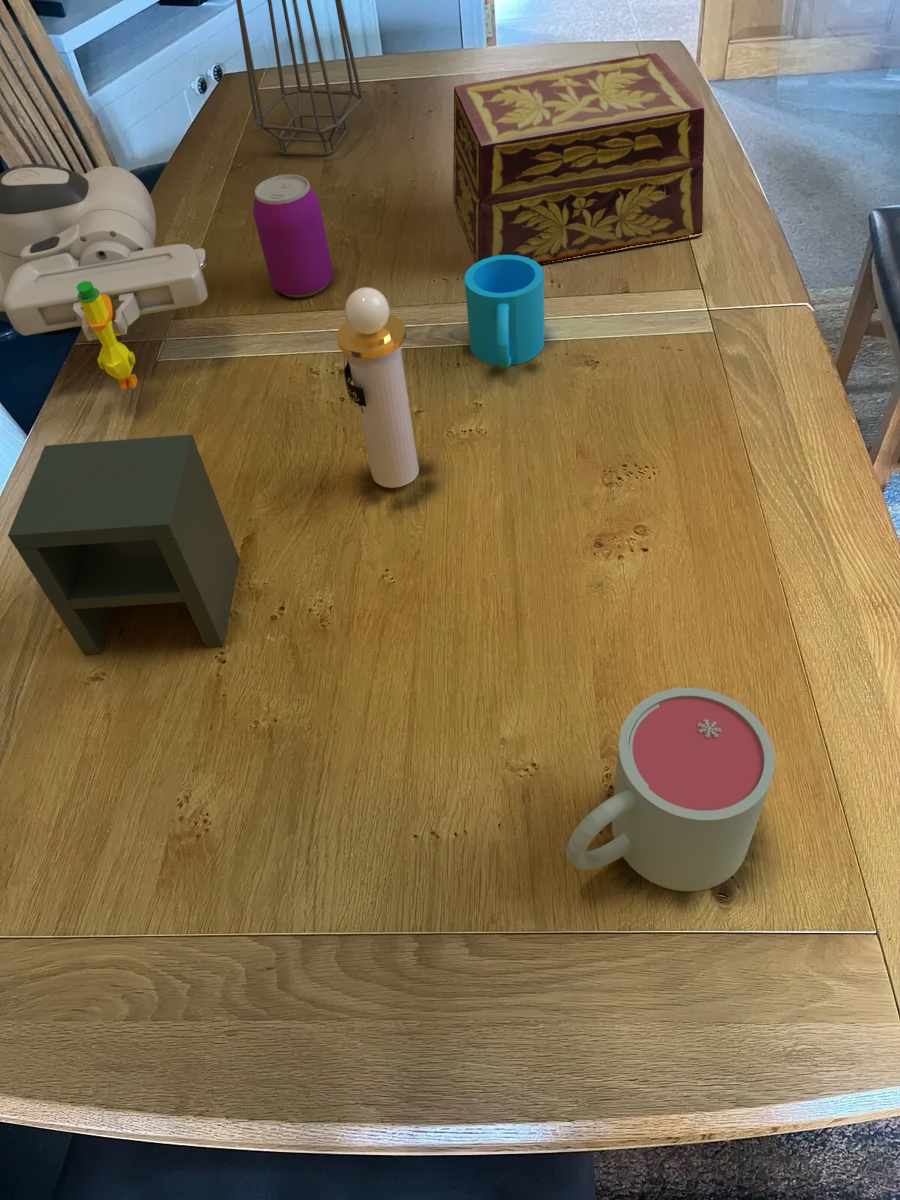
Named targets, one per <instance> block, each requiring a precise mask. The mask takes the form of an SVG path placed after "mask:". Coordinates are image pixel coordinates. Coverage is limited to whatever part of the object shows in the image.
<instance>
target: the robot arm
mask: <svg viewBox="0 0 900 1200" xmlns="http://www.w3.org/2000/svg"><path fill="white" fill-rule="evenodd" d="M156 235H157V219H156V210H155V204H154V203H153V199H152V197H151V194H150V193H149V190H148V189H147V187H146V185H144V183H143V182H142V181H141V180H140V179H139V178H138V177H137V176H136V175H135V174H133V173H131V172H130V171H129V170H128V169H127V170H126V169H125V168H122V167H119V166H115V165H104V166H99V167H95V168H93V169H91V170H89V171H88V172H86V173H83V174H80V173H78V172H75V171H74V170H72V169H69V168H66V167H63V166H60V165H53V164H45V163H25V164H18V165H14V166H12V167H10V168H7V169H6V170H4V171H3V172H1V173H0V321H1V322H5V323H7V324H8V323H9V324H11V326H12V327H13V329H14V331H16V332H17V333H18V334H20V335H22V336H25V337H26V336H32V335H41V336H57V335H63V334H66V333H69V332H72V331H75V330H77V329H78V328H81V329H82V332H83V334H84V337H85V339H86V341H87V342H92V341H97V340H99V339H98V337H97V335H96V333H95V332H94V330H93V329H92V328H91V327H90V325H89V324H88V322H87V321H86V319H85V318H84V316H85V313H84V310H83V308H82V306H81V303H80V301H79V300H78V298H77V296H78V294H79V291H78V290H77V289H76V287H77V285H78V284H79V283H81V282H84V281H90V282H91V283H92V284H93V287H94V288H96V289H98V290H99V292H100V295H102V294H106V295H108V296H109V298H110V300H111V303H112V310H113V316H112V319H111V321H112V328H113V332H114V335H115V336H116V337H119V336H120V337H121V336H126V335H127V334H128V327H130V326H131V325H132V324H133V323H134V322H136V320H138V319H139V318H140V316H145V315H150V314H155V313H156V314H157V313H161V312H162V313H163V312H167V311H173V310H178V309H179V310H180V309H184V308H188V307H189V308H190V307H196V306H199V305H201V304H202V303H204V302H205V301H206V300H207V299H208V297H209V295H208V294H209V293H208V287H207V283H206V280H205V277H204V273H203V269H204V268H205V267H206V266H207V263H208V254H207V251H206V250H205V248H203V247H193V245H189V244H186V243H175V244H167V245H162V246H156V247H155V242H156V237H157V236H156Z"/></svg>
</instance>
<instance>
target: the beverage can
mask: <svg viewBox="0 0 900 1200" xmlns="http://www.w3.org/2000/svg"><path fill="white" fill-rule="evenodd" d="M252 214H253V219H254V222H255V227H256V230H257V234H258V235H257V236H258V238H259V242H260V247H261V250H262V253H263V257H264V262H265V266H266V269H267V273H268V276H269V277H268V278H269V281H270V283H271V285H272V287H273V289H274V290H275V291H277V292H278V293H280V294H282V295H284V296H286V297H289V298H295V299H296V298H297V299H298V298H300V299H301V298H308V297H311V296H315V295H317V294H318V293H321V292H323V291H324V289H325V288H327V287H328V285H329V284H330V283H331V281H332V280H333V277H334V269H333V263H332V257H331V253H330V248H329V243H328V238H327V233H326V228H325V222H324V217H323V213H322V208H321V203H320V198H319V197H318V195H317V194H316V192H315V190H314V189H313V187H312V186H311V183H310V182H309V181H308V179H307V178H306V177H304V176H302V175H299V174H280V175H276V176H272V177H269V178H267V179H264V180H263V181H261V182H260V183H258V184H257V186H256V187H255V188H254V200H253V209H252Z"/></svg>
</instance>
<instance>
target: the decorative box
mask: <svg viewBox="0 0 900 1200" xmlns="http://www.w3.org/2000/svg"><path fill="white" fill-rule="evenodd" d="M704 156H705V108H704V105H703V104H702V103H701V102H700V101H699V100H698V99H697V97H696V96H695V95H694V94H693V93H692V91H690V89H689V88H688V87H687V86H686V85H685V83H684V82H683V81H682V80H681V79H680V78H679V77H678V75H676V73H675V72H674V71H673V69H671V68H670V67H669V65H668V64H667V63H666V62H665V61H664V60H663V58H662V57H661V56H660V55H659V54H658V53H646V54H639V55H633V56H627V57H621V58H620V57H619V58H615V59H609V60H603V61H597V62H591V63H584V64H578V65H573V66H567V67H561V68H555V69H547V70H543V71H537V72H530V73H525V74H519V75H512V76H507V77H501V78H493V79H488V80H483V81H476V82H472V83H471V82H470V83H465V84H459V85H456V86H454V88H453V162H452V163H453V166H452V169H453V171H452V175H453V177H452V179H453V180H452V181H453V182H452V184H453V185H452V186H453V188H452V194H453V195H452V204H453V206H454V205H455V207H454V209H455V208H456V210H455V212H456V211H457V212H456V214H457V213H458V215H457V217H458V216H459V218H458V220H459V219H460V220H459V222H461V223H460V226H461V225H462V226H461V228H462V227H463V228H462V230H464V231H463V233H465V234H464V236H465V235H466V236H465V239H466V238H467V239H466V241H468V242H467V244H468V243H469V244H468V247H469V246H470V247H469V249H470V252H471V255H472V254H473V255H472V258H473V260H474V262H475V263H477V262H479V261H481V260H483V259H486V258H489V257H493V256H500V255H518V256H522V257H527V258H529V259H531V260H533V261H536V262H537V263H538V264H542V265H544V264H543V263H548V262H552V261H554V263H556V262H555V261H557V260H558V261H559V260H562V259H563V260H564V259H566V258H567V259H568V258H573V257H577V256H583V255H588V254H592V253H593V254H594V253H600V252H607V251H611V250H615V249H616V250H617V249H621V248H625V247H630V246H636V245H642V244H649V243H656V242H657V243H658V242H662V241H667V240H673V239H679V238H682V237H687V236H689V235H695V234H700V233H702V234H703V224H704V223H703V218H704V216H703V213H704V212H703V211H704V164H703V163H704ZM559 262H560V261H559ZM475 263H474V264H475ZM548 264H549V263H548Z"/></svg>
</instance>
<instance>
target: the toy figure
mask: <svg viewBox="0 0 900 1200" xmlns="http://www.w3.org/2000/svg"><path fill="white" fill-rule="evenodd" d="M76 289H77V290H78V291H79V294H78V296H77V298H78V300H79V301H80V303H81V306H82V308H83V310H84V313H85V316H84V318H85V319H86V321H87V322H88V324H89V325H90V327H91V328H92V329H93V330H94V332H95V333H96V335H97V337H98V339H97V340H99V342H100V343H101V348H100V351H99V354H98V357H96V359H97V360H96V361H97V364H98V366H99V368H100V369H101V370H105V372H106V373H107V375H108V376H109V375H110V376H111V377H112V378H114V379H116V380H117V382H118V385H119V387H120V390H121V391H126V390H127V389H128V388H129V390H133V389H136V387H137V384H138V378H137V375H136V374H135V373H132V372H133V368H134V365H136V355H135V354H134V352H133V351H130V350H129V348H128V347H127V346H126V345H125V344H124V343H122V342H120V341H118V340H117V336H115V335H114V332H113V328H112V321H111V319H112V316H113V310H112V303H111V300H110V298H109V296H108V295H106V294H102V295H100V292H99V290H98V289H96V288H94V287H93V284H92V283H91V282H90V281H84V282H81V283H79V284H78V285H77V287H76Z"/></svg>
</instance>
